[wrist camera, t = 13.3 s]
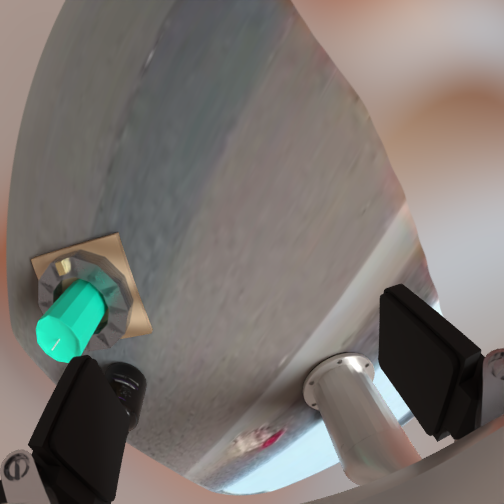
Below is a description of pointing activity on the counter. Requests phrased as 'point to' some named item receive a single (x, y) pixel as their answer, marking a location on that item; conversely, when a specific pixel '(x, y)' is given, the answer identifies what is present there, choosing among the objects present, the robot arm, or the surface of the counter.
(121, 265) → the oak board
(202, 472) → the counter surface
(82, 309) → the candle
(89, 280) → the steel collar
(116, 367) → the supplement bottle
